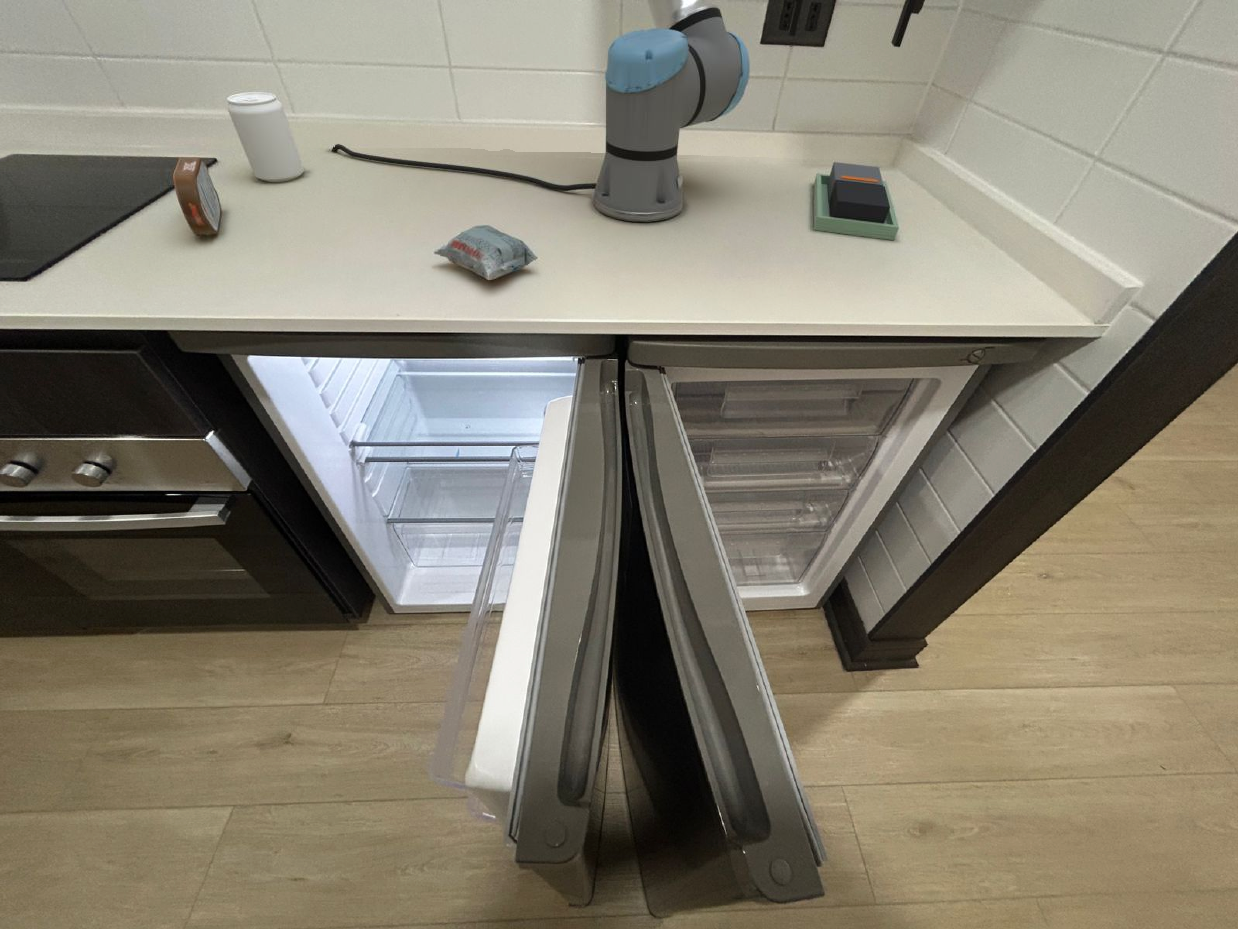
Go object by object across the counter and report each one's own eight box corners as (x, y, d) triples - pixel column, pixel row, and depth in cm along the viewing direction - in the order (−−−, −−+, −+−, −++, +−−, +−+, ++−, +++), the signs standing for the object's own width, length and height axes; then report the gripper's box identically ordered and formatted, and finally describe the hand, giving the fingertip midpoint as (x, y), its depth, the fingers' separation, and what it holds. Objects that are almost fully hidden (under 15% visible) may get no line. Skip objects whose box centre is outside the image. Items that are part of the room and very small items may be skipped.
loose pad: (830, 225, 90) (837, 200, 87) (828, 204, 97) (836, 180, 94) (880, 232, 89) (890, 206, 86) (876, 210, 95) (884, 186, 93)
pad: (828, 203, 97) (835, 178, 94) (827, 184, 104) (834, 160, 101) (875, 209, 96) (884, 183, 93) (871, 190, 102) (879, 165, 99)
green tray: (893, 240, 88) (899, 227, 87) (813, 229, 90) (817, 216, 89) (882, 193, 103) (886, 181, 102) (813, 184, 105) (816, 172, 103)
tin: (205, 207, 88) (177, 149, 82) (227, 205, 89) (201, 147, 83) (197, 246, 79) (164, 183, 73) (222, 243, 80) (191, 181, 74)
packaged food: (491, 295, 72) (486, 258, 68) (435, 265, 77) (428, 229, 74) (540, 273, 77) (537, 238, 73) (484, 246, 82) (480, 212, 78)
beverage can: (315, 174, 100) (289, 96, 91) (274, 187, 95) (242, 106, 86) (287, 164, 103) (259, 88, 94) (246, 176, 98) (212, 97, 89)
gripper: (794, -224, 57) (748, 34, 72) (1050, -209, 54) (945, 55, 70) (793, -215, 62) (750, 24, 77) (1027, -201, 59) (934, 44, 75)
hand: (843, 39), depth 73 cm, fingers open, 13 cm apart
